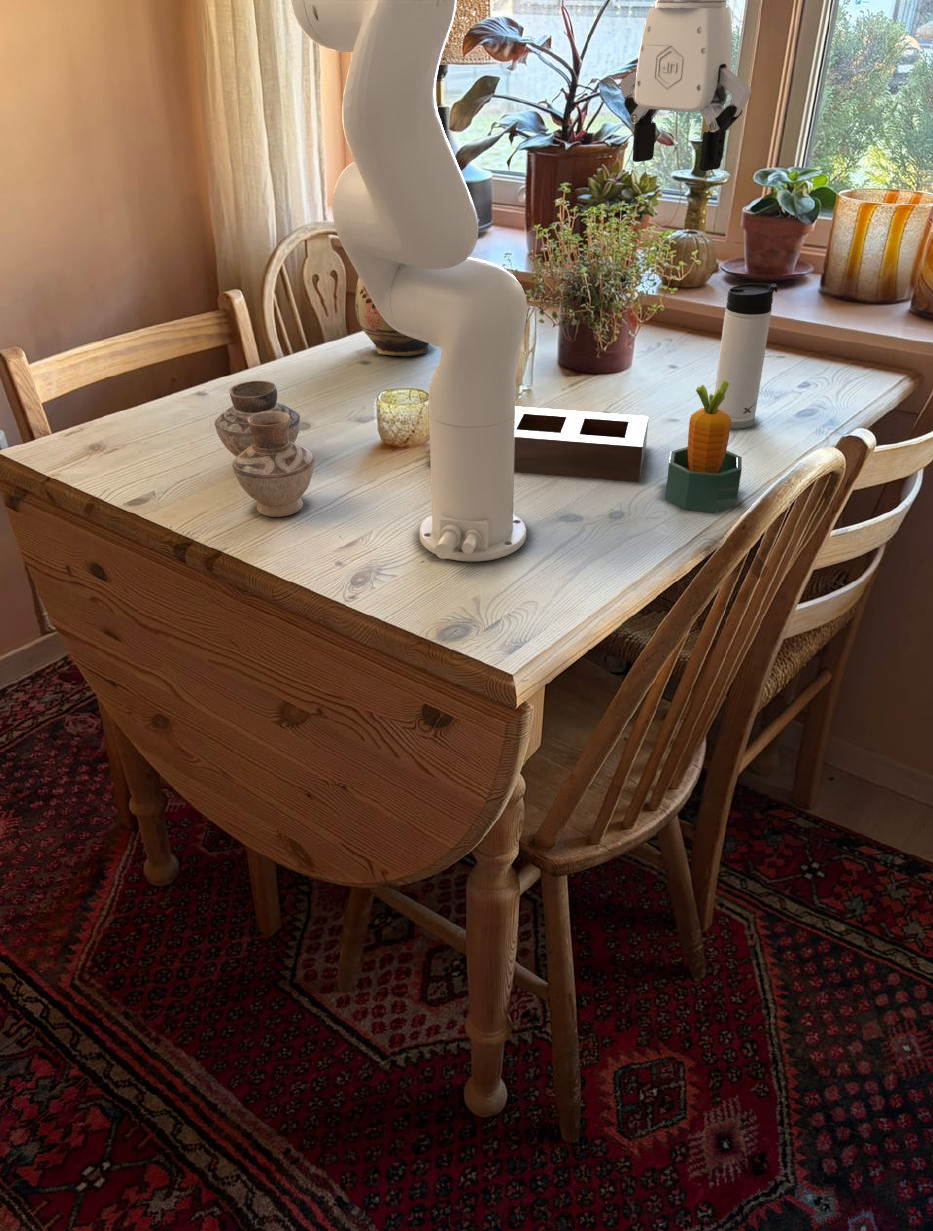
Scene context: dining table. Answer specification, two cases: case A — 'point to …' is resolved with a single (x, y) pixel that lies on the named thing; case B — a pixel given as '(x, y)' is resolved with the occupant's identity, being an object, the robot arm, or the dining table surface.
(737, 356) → the travel mug
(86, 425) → the dining table surface
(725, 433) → the carrot
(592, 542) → the dining table surface
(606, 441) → the rack
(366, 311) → the ceramic jug
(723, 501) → the holder
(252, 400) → the pottery
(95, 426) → the dining table surface
